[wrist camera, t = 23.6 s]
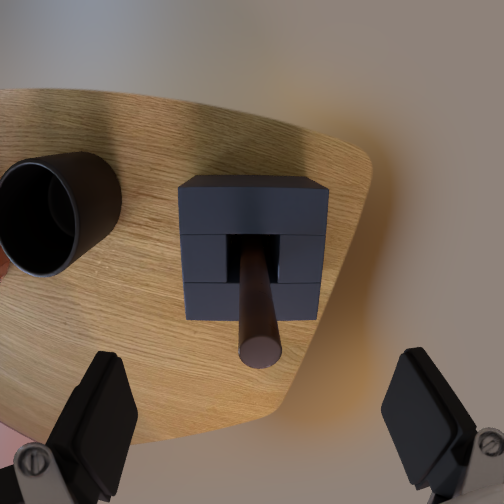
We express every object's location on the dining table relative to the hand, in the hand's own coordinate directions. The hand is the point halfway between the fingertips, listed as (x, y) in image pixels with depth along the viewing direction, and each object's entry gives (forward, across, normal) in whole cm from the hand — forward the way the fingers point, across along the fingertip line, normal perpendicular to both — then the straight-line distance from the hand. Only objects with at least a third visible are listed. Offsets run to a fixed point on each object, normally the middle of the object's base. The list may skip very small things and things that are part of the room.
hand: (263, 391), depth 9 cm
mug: (+21, +18, -3) cm, 28 cm away
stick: (+21, 0, +1) cm, 21 cm away
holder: (+21, 0, +1) cm, 21 cm away
